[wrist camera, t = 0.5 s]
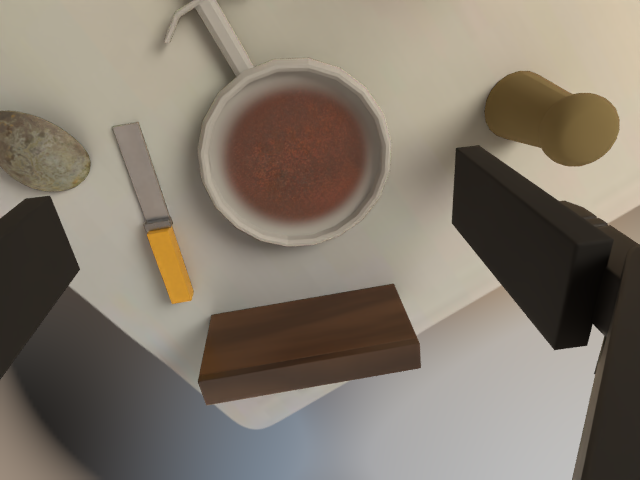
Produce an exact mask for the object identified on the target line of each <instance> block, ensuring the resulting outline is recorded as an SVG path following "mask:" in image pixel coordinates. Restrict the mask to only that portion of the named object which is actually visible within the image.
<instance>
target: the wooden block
mask: <svg viewBox="0 0 640 480" xmlns="http://www.w3.org/2000/svg"><path fill="white" fill-rule="evenodd" d="M418 368H421V363H420V343H419V341H418V339H417V336H416V334H415V332H414V329H413V327H412V325H411V322H410V320H409V318H408V316H407V313H406V311H405V309H404V306H403V304H402V302H401V299H400V297H399V295H398V292H397V290H396V288H395V286H394V284H390V285H384V286H378V287H372V288H366V289H360V290H355V291H349V292H343V293H337V294H331V295H325V296H319V297H314V298H308V299H302V300H296V301H290V302H284V303H279V304H273V305H267V306H261V307H255V308H249V309H244V310H238V311H232V312H226V313H220V314H214V315H211V320H210V325H209V330H208V334H207V339H206V344H205V349H204V354H203V359H202V364H201V369H200V374H199V379H198V384H199V387H200V389H201V392H202V395H203V397H204V400H205V403H206V405H212V404H217V403H223V402H229V401H235V400H240V399H246V398H252V397H258V396H263V395H269V394H275V393H281V392H286V391H292V390H298V389H303V388H309V387H315V386H321V385H326V384H332V383H338V382H344V381H349V380H355V379H361V378H367V377H372V376H378V375H384V374H389V373H395V372H401V371H406V370H413V369H418Z"/></svg>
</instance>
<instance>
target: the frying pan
mask: <svg viewBox="0 0 640 480" xmlns="http://www.w3.org/2000/svg"><path fill="white" fill-rule="evenodd" d="M194 8H195V9H196V10H197V12H198V14H199V15H200V17H201V19H202V20H203V22H204V24H205V25H206V27H207V29H208V30H209V32H210V34H211V35H212V37H213V39H214V40H215V42H216V44H217V45H218V47H219V49H220V50H221V52H222V54H223V55H224V57H225V59H226V60H227V62H228V64H229V65H230V67H231V69H232V70H233V72H234V74H235V75H236V78H235V79H234V80H232V81H231V82H230V83H229V84H228V85H227V86H226V87H224V88H223V89H222V90H221V91H220V92H219V93H218V94H217V96H216V98H215V100H214V101H213V103H212V105H211V107H210V109H209V110H208V112H207V114H206V116H205V118H204V119H203V122H202V128H201V133H200V139H199V144H198V150H197V152H198V159H199V166H200V172H201V179H202V182H203V184H204V186H205V188H206V190H207V192H208V194H209V196H210V198H211V200H212V202H213V204H214V206H215V207H216V208H217V209H218V210H219V211H220V212H221V213H222V214H223V215H224V217H225V218H226V219H227V220H228V221H229V222H230V223H231V224H232V225H233V226H234V227H236V228H238V229H239V230H241V231H243V232H245V233H247V234H249V235H250V236H252V237H254V238H256V239H258V240H259V241H264V242H269V243H273V244H278V245H282V246H287V247H289V246H305V245H315V244H318V243H321V242H324V241H327V240H329V239H332V238H335V237H338V236H340V235H342V234H343V233H345V232H346V231H347V230H349V229H350V228H352V227H353V226H354V225H356V224H357V223H359V222H360V221H361V220H363V219H364V217H365V216H366V215H367V213H368V212H369V211H370V210H371V208H372V207H373V206H374V204H375V203H376V202H377V201H378V199H379V198H380V196H381V193H382V191H383V188H384V185H385V183H386V180H387V178H388V175H389V172H390V162H391V143H392V142H391V138H390V134H389V131H388V127H387V124H386V120H385V116H384V113H383V111H382V110H381V108H380V107H379V105H378V104H377V102H376V101H375V100H374V98H373V97H372V95H371V94H370V92H369V91H368V89H367V88H366V87H365V86H364V85H363V84H361V83H360V82H359V81H357V80H356V79H354V78H353V77H352V76H350V75H349V74H348V73H346V72H345V71H344V70H342V69H341V68H339V67H336V66H333V65H330V64H326V63H323V62H320V61H317V60H314V59H311V58H287V59H273V60H271V61H268V62H265V63H263V64H260V65H258V66H255V67H254V65H253V64H252V62H251V60H250V58H249V57H248V55H247V53H246V51H245V50H244V48H243V46H242V44H241V43H240V41H239V39H238V37H237V36H236V34H235V32H234V30H233V29H232V27H231V25H230V24H229V22H228V20H227V18H226V17H225V15H224V13H223V11H222V10H221V8H220V6H219V4H218V3H217V1H216V0H193V1H191V2H190V3H188V4H186V5H185V6H183V7H182V8H180V9H179V10H177V11H176V12H175V13H174V16H173V18H172V21H171V24H170V26H169V29H168V32H167V34H166V37H165V43H170V42H171V39H172V37H173V34H174V31H175V29H176V26H177V24H178V21H179V19H180V17H181V16H183V15H184V14H186V13H188V12H189V11H191V10H192V9H194Z"/></svg>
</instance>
